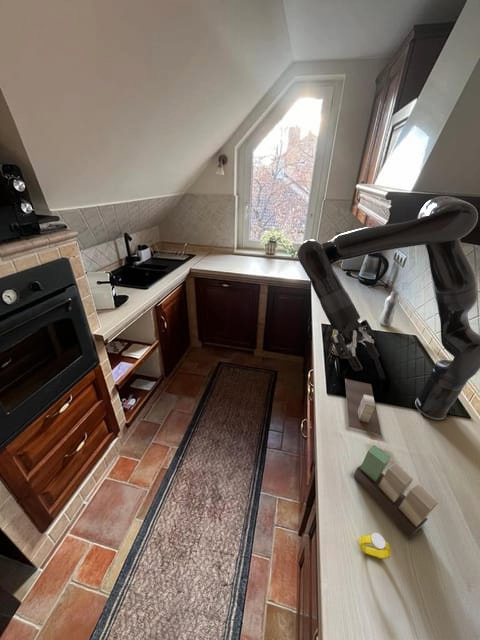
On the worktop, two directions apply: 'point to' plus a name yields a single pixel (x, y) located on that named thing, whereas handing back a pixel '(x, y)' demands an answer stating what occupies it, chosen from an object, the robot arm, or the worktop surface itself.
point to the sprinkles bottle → (335, 348)
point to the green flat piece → (375, 462)
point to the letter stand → (399, 498)
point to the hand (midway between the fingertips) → (367, 363)
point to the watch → (377, 543)
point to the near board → (355, 403)
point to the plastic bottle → (389, 309)
